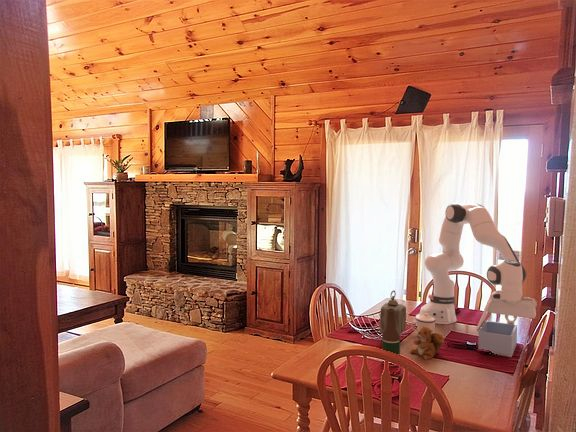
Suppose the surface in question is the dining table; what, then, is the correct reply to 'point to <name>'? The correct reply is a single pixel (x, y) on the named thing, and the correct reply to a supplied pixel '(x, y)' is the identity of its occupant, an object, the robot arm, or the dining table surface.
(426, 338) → the stuffed squirrel
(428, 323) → the teacup with lid
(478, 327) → the lid
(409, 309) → the dining table surface
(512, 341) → the box
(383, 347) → the beer bottle
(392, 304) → the brown cowbell
